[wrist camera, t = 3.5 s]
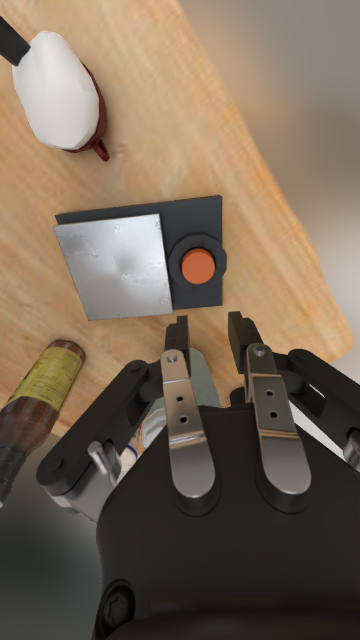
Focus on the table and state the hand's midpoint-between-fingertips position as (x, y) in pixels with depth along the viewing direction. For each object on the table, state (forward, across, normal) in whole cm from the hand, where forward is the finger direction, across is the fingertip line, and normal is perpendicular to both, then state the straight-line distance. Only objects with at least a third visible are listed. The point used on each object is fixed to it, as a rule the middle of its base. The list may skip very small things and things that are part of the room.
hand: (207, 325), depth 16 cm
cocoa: (+15, +10, -15) cm, 24 cm away
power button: (+13, 0, 0) cm, 13 cm away
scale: (+15, +6, 0) cm, 16 cm away
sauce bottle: (+15, +22, +14) cm, 30 cm away
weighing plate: (+12, +9, 0) cm, 15 cm away
